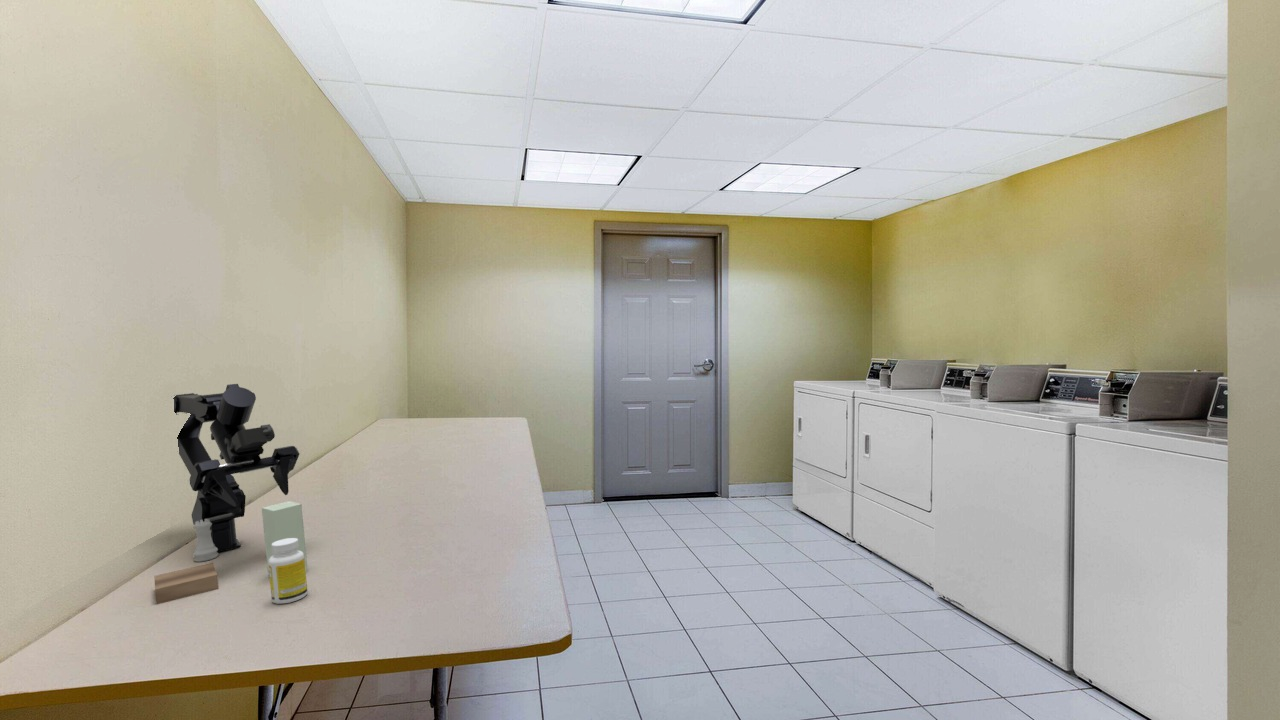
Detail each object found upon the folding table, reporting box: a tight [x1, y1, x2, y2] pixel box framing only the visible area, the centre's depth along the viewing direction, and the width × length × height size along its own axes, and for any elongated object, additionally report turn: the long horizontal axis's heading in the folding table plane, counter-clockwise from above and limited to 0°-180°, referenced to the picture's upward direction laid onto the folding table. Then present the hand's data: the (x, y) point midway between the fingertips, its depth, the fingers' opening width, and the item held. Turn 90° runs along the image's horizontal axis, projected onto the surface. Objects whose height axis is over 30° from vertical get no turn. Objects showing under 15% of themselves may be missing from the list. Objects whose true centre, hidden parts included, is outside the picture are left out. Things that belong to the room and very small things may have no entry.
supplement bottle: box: [268, 538, 308, 605], centre depth 110 cm, size 5×5×10 cm
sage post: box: [261, 500, 309, 576], centre depth 122 cm, size 5×5×13 cm
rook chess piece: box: [192, 519, 220, 563], centre depth 135 cm, size 4×4×8 cm
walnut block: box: [154, 562, 219, 605], centre depth 118 cm, size 9×9×3 cm
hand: (262, 499), depth 127 cm, fingers open, 9 cm apart
